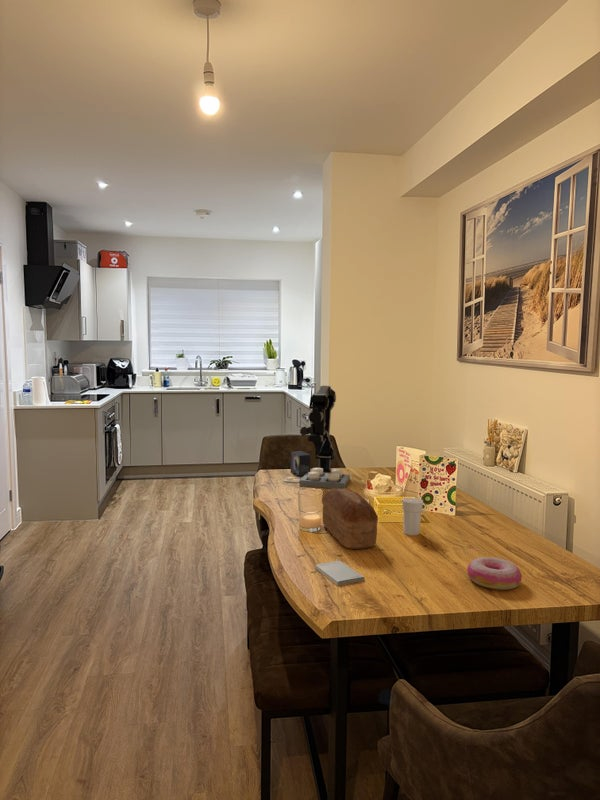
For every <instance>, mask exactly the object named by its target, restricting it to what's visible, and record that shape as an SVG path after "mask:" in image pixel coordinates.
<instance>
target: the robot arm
mask: <svg viewBox="0 0 600 800" xmlns="http://www.w3.org/2000/svg"><path fill="white" fill-rule="evenodd" d="M331 387H332V386H330V385H320V387H319V390H318V391H317V392H313V393H312V394H311V395H310V400H309V407H308V409H309V410H312V411H311V412H310V413H309V414H308V419H309V422H310V423H311V424H310V425H309V426H302V427H300V429H299V434H300V435H301V437H304V436H306V435H308V437H307V442H309V443H310V442H311V443H313V444H314V445H313V446H314V449H315V452H314V453H315V459H316V460H317V459H318V468H323V473H331V471H332V468H331V460H335V450H334V448H333V443H332V442H331V440H330V433H331V432H330V431H331V417H332V415H331V414H332V410H333V409H334V407H335V403H336V402H337V394H336V391H335V390H333V389H332V388H331ZM309 434H310V435H309Z"/></svg>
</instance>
